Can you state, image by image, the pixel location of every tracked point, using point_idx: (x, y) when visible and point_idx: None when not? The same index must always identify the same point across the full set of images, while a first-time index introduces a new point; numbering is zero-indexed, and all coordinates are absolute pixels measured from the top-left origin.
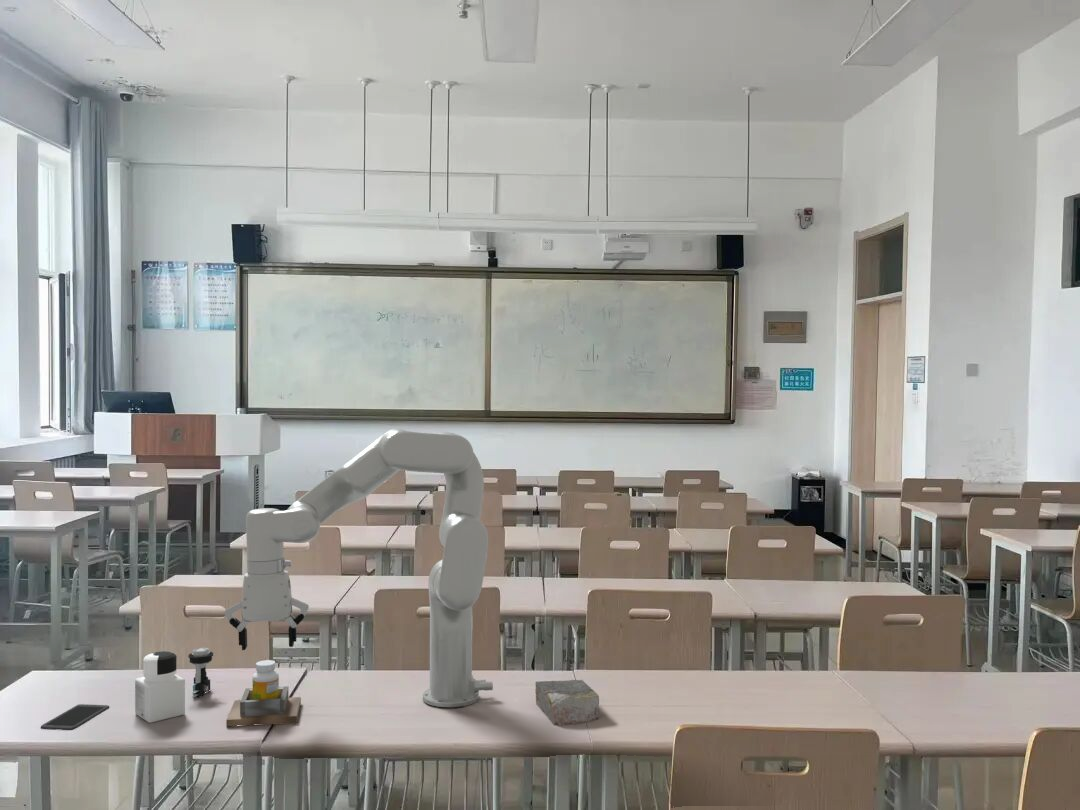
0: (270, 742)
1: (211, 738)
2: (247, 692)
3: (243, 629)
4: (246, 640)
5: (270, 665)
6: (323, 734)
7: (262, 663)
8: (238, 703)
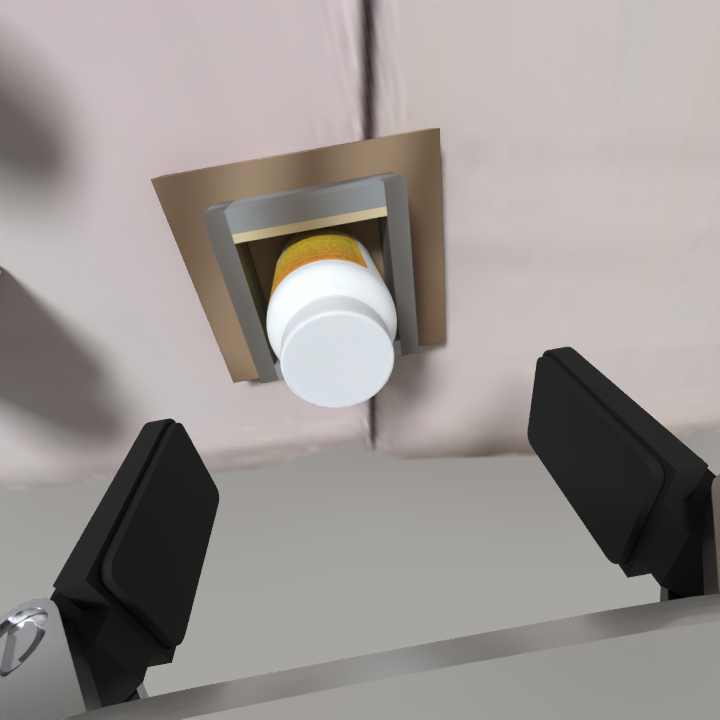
0: (392, 444)
1: (235, 437)
2: (238, 276)
3: (138, 664)
4: (177, 492)
5: (376, 392)
6: (512, 395)
7: (323, 376)
8: (190, 221)
